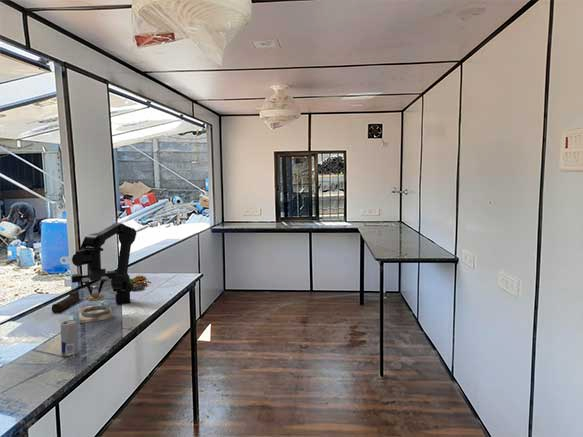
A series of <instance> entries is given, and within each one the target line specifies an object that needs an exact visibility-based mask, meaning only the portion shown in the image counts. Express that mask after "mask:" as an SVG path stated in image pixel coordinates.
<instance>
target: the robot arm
mask: <svg viewBox="0 0 583 437" xmlns="http://www.w3.org/2000/svg"><path fill="white" fill-rule="evenodd" d="M115 235H118V238H117V239H118V241H119V243H120V249H119V254H118V262H117V268H116V270H107V269H106V268H102V262H101V261H102V260H101V258H102V257H101V252H102V251H104V248H103V247H102V246H103V245H105V244H106V241H107V240H108V239H110V238H112V237H113V236H115ZM136 237H137V230H136V229H135V228H134V227H130V226H128V225H125V224H124V223H121V222H114V223H112V224H111V225H109V226H108V227H106V228H104V229H103V230H101V231H99V232H96V233H95V232H94V233H90V234H87V235H85V237H84V239H83V241H82V242H81V245H80V246H79V249H78V250H76V251H75V254H73V256H72V258H71V262H72V264H73V265H74V266H76V267H80V266H85V265H86V266H87V268H86V269H87V274H84V275H82V273H72V275H71V283H73V284H75V283H76V284H77V283H80V282H82V284H85V286H86V287H87V290H88V292H89V294H90V295H89V296H91V287H92V286H91V283H90V282H94V281H99V283H98V286H99V294H101V292H102V289H103V285H104V283H105V282H107V281H108V279H109V280H111V281H110V283H111V288H112V291H113V292H115V291H116V293H115V298H114V299H115V303H116V305H123V304H124V305H125V304H131V303H132V301H131V292H133V291H132V290H133V285H132V284H131V283H130V279H131V278H130V274H129V273H128V269H129V260H130V255H131V247H132V245H133V243H134V242H135V241H136Z"/></svg>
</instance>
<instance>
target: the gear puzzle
mask: <svg viewBox="0 0 583 437" xmlns="http://www.w3.org/2000/svg"><path fill="white" fill-rule="evenodd" d="M146 279H147V277H146V276H144V275H136V276H135V277H133V278H130V283H131V284H132V285H133V290H132V291H131V292H135V291H136V292H142V291H145V290H146V287H145V286H148V287H149V284H147V283H150V284H152V282H151V281H150V282H149V280H146ZM140 280H142V281H140ZM144 282H145V283H144ZM144 287H145V288H144ZM114 292H116V291H114Z"/></svg>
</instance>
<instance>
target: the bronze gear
mask: <svg viewBox="0 0 583 437" xmlns="http://www.w3.org/2000/svg"><path fill="white" fill-rule="evenodd" d="M90 287H91V295H87V297H85V301H88V302H97V301H102V300H104V299H105V295H103V294H102V293H100V294H99V285H91V286H90Z"/></svg>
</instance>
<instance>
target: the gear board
mask: <svg viewBox="0 0 583 437" xmlns="http://www.w3.org/2000/svg"><path fill="white" fill-rule="evenodd" d="M77 311H78V320H79V321H78V322H79V324H83V323H89V322H96V321H102V320H103V321H104V320H109V319H111V320H112V319H114V318H115V315H114V313H113V310H112V307H111V305H110V303H108V302H103V301H101V302H100V303H96V305H91V306H90V305H89V306H82V307H80V306H79V307H77Z"/></svg>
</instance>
